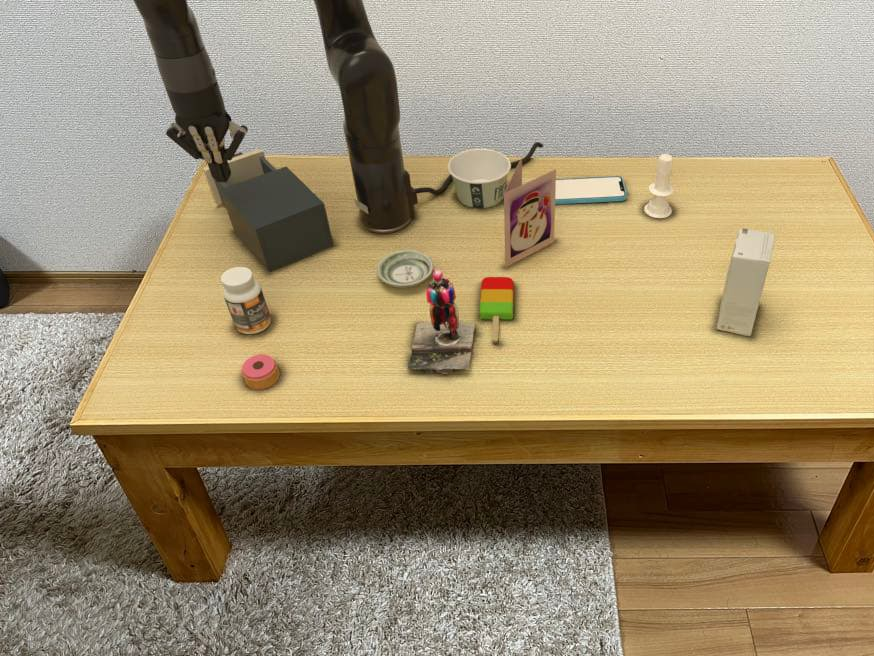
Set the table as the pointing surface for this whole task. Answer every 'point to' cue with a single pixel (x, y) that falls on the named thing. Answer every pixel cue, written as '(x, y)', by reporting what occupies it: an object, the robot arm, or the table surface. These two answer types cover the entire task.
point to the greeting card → (528, 214)
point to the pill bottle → (245, 300)
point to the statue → (442, 332)
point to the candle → (661, 189)
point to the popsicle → (496, 301)
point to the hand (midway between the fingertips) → (223, 179)
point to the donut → (260, 371)
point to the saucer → (405, 268)
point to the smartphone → (590, 190)
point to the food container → (479, 176)
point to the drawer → (239, 172)
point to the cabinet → (278, 218)
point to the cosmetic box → (745, 281)
